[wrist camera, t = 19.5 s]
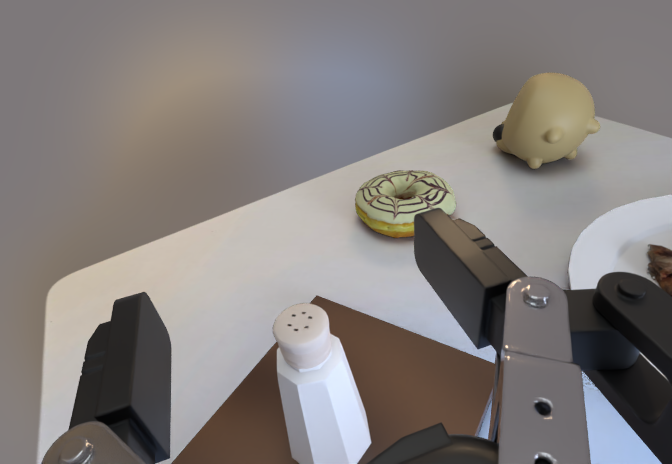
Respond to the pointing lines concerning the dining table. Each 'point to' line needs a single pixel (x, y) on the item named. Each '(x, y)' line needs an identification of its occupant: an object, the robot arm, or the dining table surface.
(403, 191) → the decorated donut
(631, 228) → the plated food
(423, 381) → the walnut board
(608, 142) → the dining table surface
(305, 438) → the salt shaker
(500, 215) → the dining table surface
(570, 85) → the toy pig
